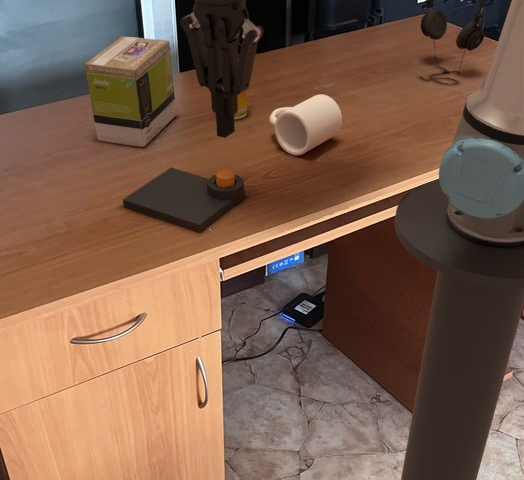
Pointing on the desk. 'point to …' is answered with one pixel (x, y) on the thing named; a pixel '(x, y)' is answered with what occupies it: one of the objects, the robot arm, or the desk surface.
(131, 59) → the tea box
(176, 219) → the dark grey flat block
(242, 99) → the supplement bottle
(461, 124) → the robot arm
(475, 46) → the headphones
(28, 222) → the desk surface
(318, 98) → the mug
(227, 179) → the tare button
